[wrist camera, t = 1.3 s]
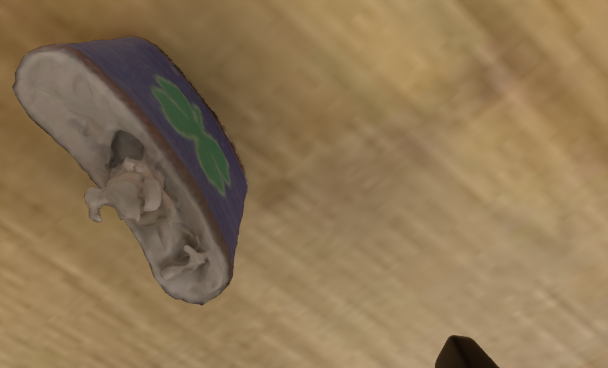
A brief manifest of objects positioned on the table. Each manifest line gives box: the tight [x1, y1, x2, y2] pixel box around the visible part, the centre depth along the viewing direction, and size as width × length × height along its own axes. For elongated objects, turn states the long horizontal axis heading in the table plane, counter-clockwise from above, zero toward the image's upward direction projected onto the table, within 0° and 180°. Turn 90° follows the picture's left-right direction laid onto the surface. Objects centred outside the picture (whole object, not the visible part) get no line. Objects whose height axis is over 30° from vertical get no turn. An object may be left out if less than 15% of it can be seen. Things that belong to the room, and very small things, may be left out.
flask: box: [12, 36, 248, 305], centre depth 17 cm, size 9×3×11 cm, turn 30°
